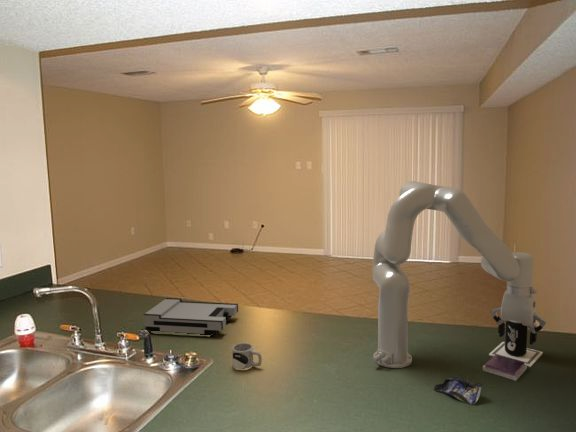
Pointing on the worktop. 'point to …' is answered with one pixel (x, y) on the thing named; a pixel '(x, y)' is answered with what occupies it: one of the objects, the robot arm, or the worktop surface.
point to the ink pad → (505, 367)
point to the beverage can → (515, 338)
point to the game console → (189, 316)
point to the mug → (244, 356)
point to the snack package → (460, 389)
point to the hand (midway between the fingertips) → (516, 339)
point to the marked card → (527, 358)
